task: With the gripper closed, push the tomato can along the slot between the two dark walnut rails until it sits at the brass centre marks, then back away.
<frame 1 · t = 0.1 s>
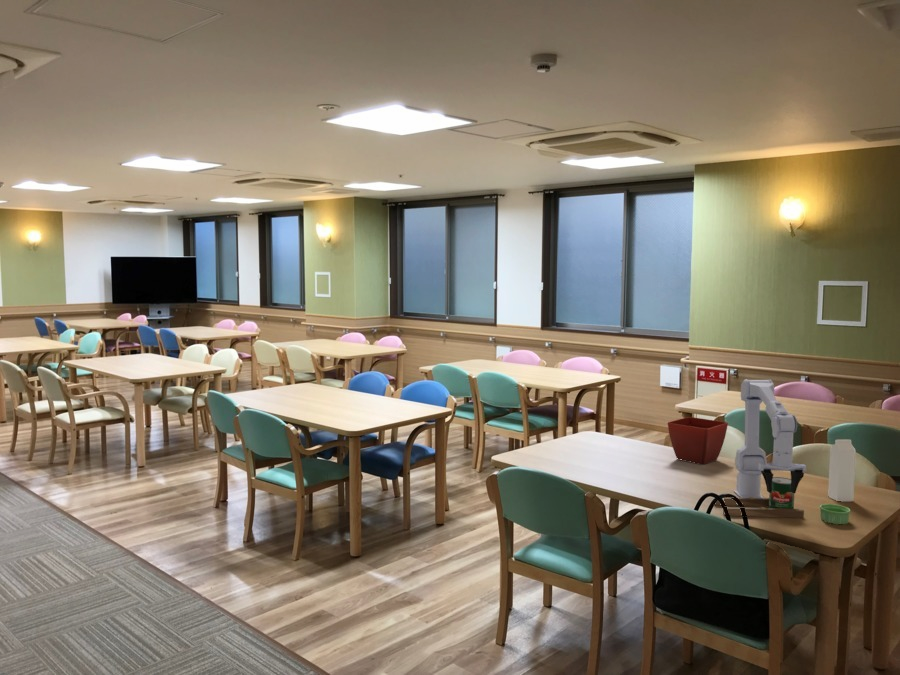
hand: (781, 492, 236), 10 cm above the table, tool pointing down, fingers open, 7 cm apart
plant pot: (696, 460, 317), on the table
beam channel: (757, 510, 249), on the table
milk: (840, 499, 262), on the table
canned tomato: (781, 511, 248), on the table
ramekin: (834, 521, 239), on the table
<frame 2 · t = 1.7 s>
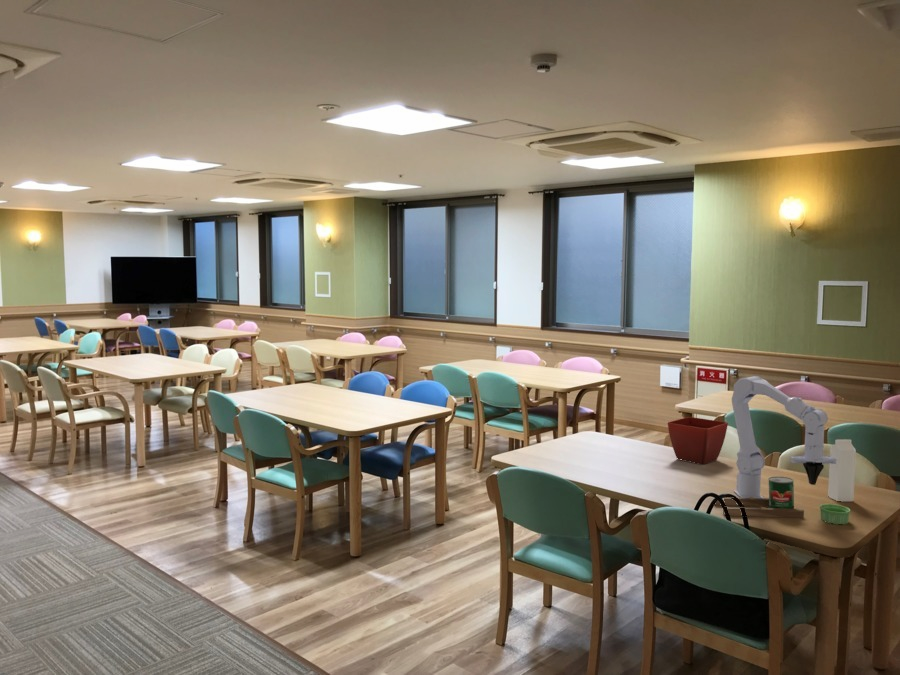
hand: (812, 483, 247), 10 cm above the table, tool pointing down, fingers closed
nothing on the table moved.
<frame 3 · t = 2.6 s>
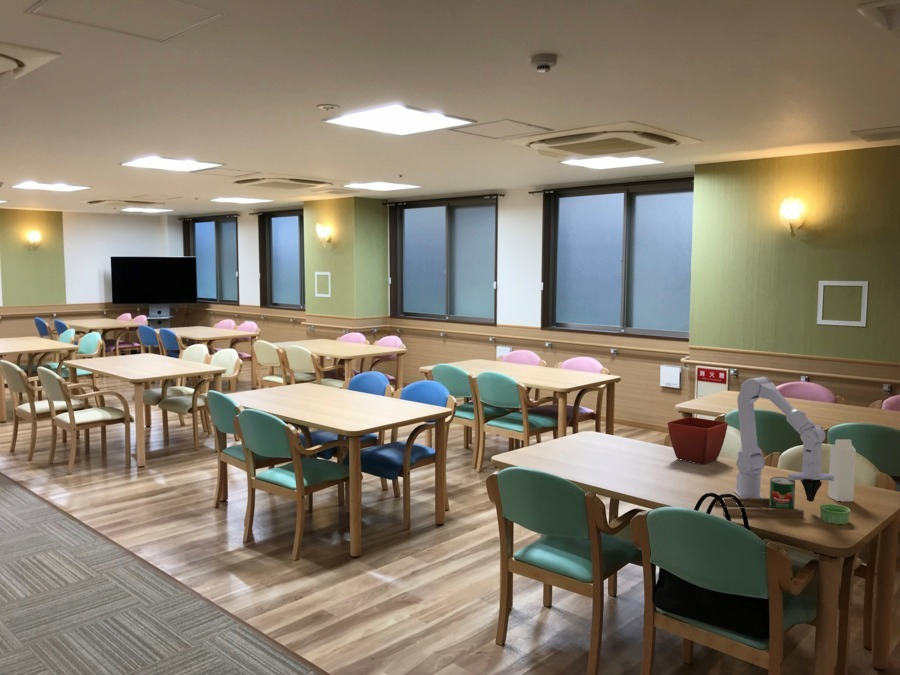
hand: (810, 500, 247), 4 cm above the table, tool pointing down, fingers closed
nothing on the table moved.
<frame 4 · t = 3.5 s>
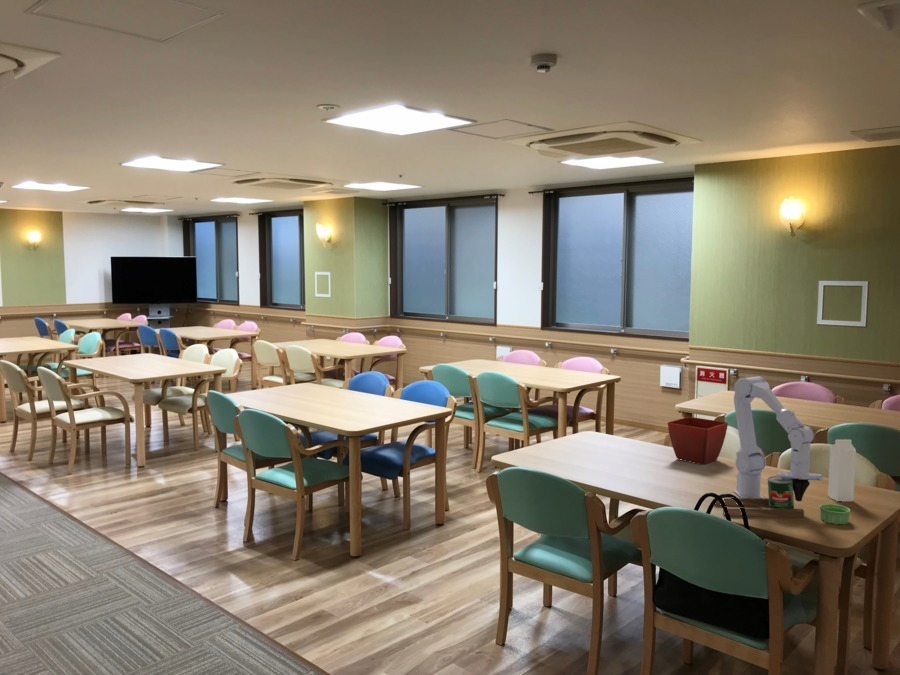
hand: (798, 500, 247), 4 cm above the table, tool pointing down, fingers closed
canned tomato: (781, 511, 248), on the table, touching gripper
everything else where it was.
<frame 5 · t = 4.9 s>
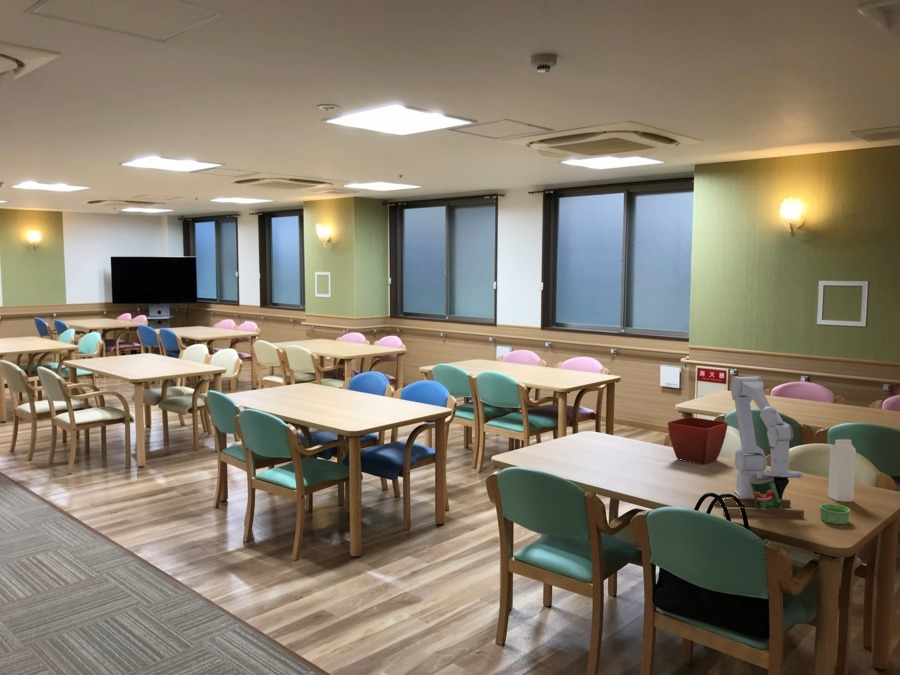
hand: (779, 498, 247), 5 cm above the table, tool pointing down, fingers closed, pressing on canned tomato
canned tomato: (769, 508, 248), point 1 cm above the table, touching gripper
everything else where it was.
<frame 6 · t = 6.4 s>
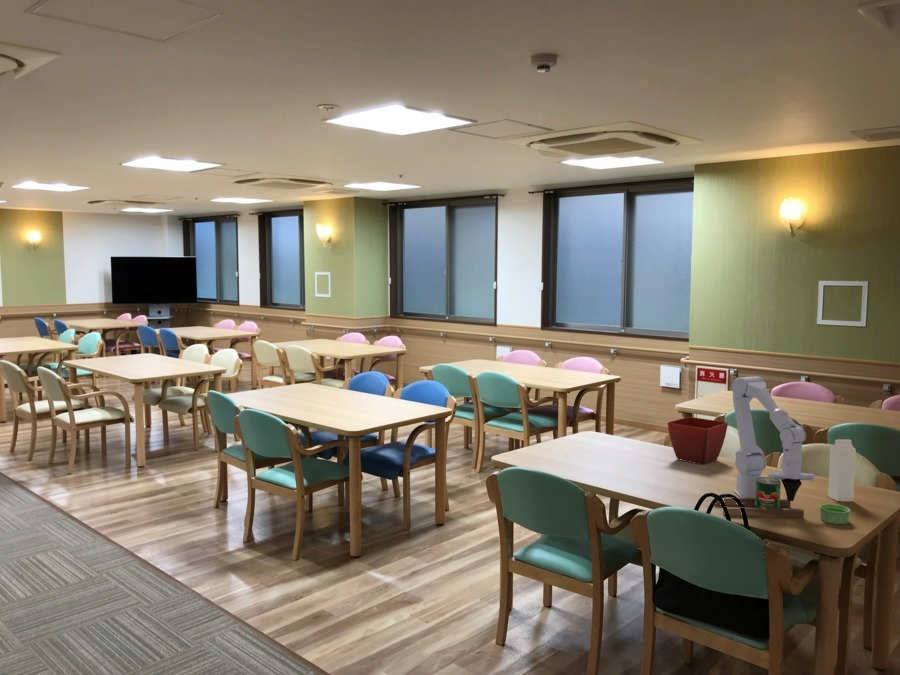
hand: (790, 500, 248), 4 cm above the table, tool pointing down, fingers closed
canned tomato: (766, 511, 248), on the table
everything else where it was.
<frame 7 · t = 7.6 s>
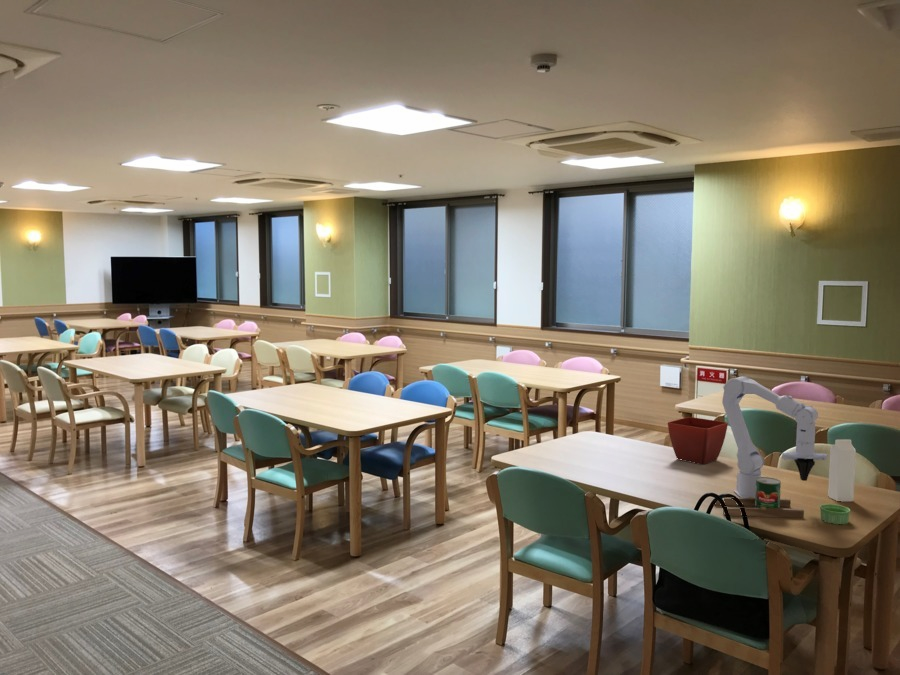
hand: (803, 479, 251), 10 cm above the table, tool pointing down, fingers closed
nothing on the table moved.
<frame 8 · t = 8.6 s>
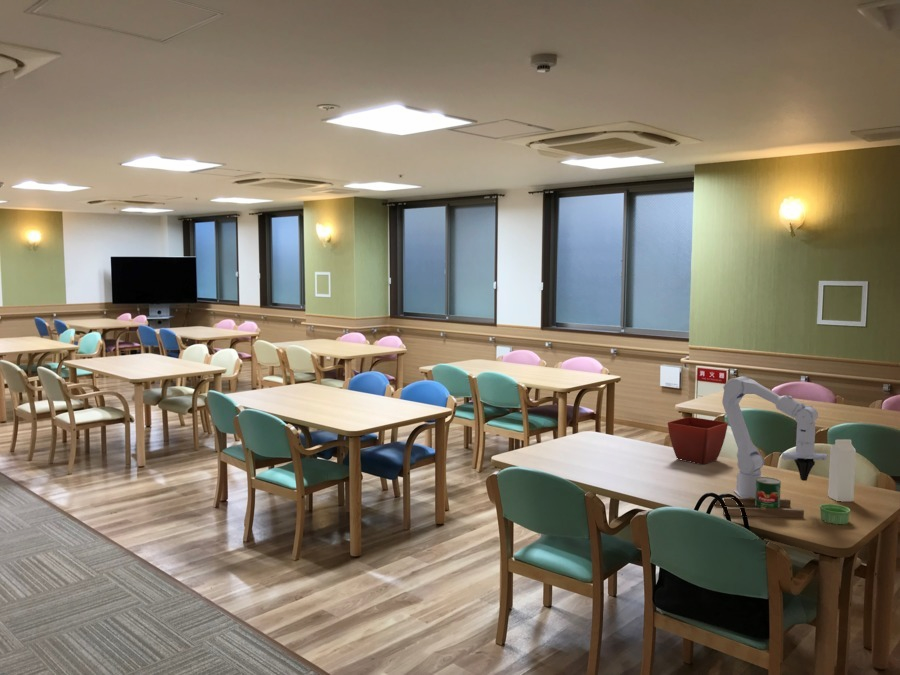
hand: (803, 479, 251), 10 cm above the table, tool pointing down, fingers closed
nothing on the table moved.
at the end: canned tomato inside the target area on the beam channel (3.1 cm from its centre), point 0.0 cm above the beam channel's base; canned tomato tilted 0°; canned tomato touching table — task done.
